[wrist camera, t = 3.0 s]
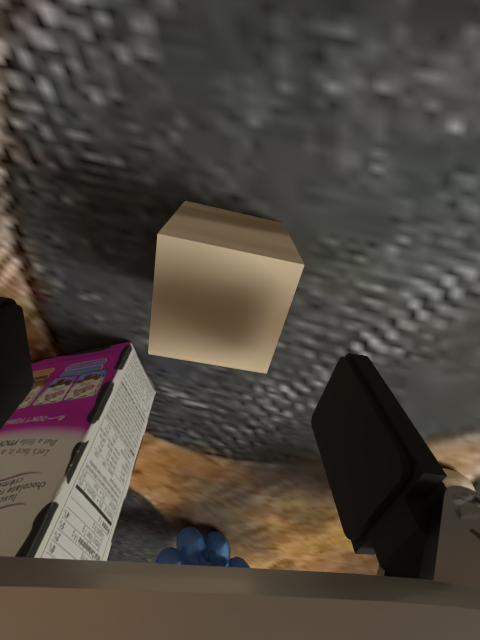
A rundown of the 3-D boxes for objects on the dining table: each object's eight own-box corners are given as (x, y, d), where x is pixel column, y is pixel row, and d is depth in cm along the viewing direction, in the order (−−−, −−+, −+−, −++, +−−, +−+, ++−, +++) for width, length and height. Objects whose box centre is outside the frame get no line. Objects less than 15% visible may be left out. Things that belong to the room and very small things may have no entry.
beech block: (185, 200, 15) (157, 233, 10) (282, 222, 15) (304, 264, 10) (174, 290, 17) (148, 353, 12) (258, 306, 18) (266, 373, 13)
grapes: (283, 528, 32) (304, 715, 22) (247, 553, 35) (252, 727, 24) (184, 496, 28) (154, 698, 18) (154, 526, 31) (114, 715, 21)
